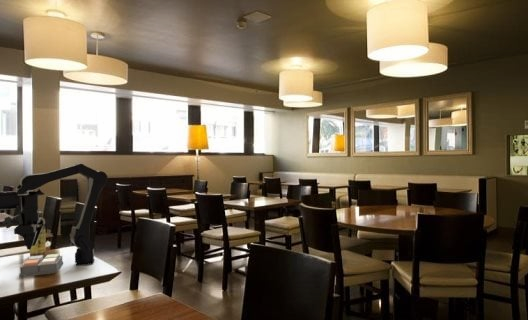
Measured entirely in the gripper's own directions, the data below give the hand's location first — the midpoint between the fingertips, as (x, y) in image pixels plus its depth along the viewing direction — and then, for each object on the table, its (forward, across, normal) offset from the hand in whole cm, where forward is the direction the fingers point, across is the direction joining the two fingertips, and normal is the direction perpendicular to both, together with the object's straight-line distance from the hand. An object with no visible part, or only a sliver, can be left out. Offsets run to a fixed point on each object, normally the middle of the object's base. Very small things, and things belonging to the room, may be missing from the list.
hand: (31, 247), depth 143 cm
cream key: (+7, 0, +6) cm, 10 cm away
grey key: (+7, -6, 0) cm, 9 cm away
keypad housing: (+10, -3, +3) cm, 11 cm away
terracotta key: (+7, 0, 0) cm, 7 cm away
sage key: (+7, -6, +6) cm, 11 cm away
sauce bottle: (+10, -27, -4) cm, 29 cm away
